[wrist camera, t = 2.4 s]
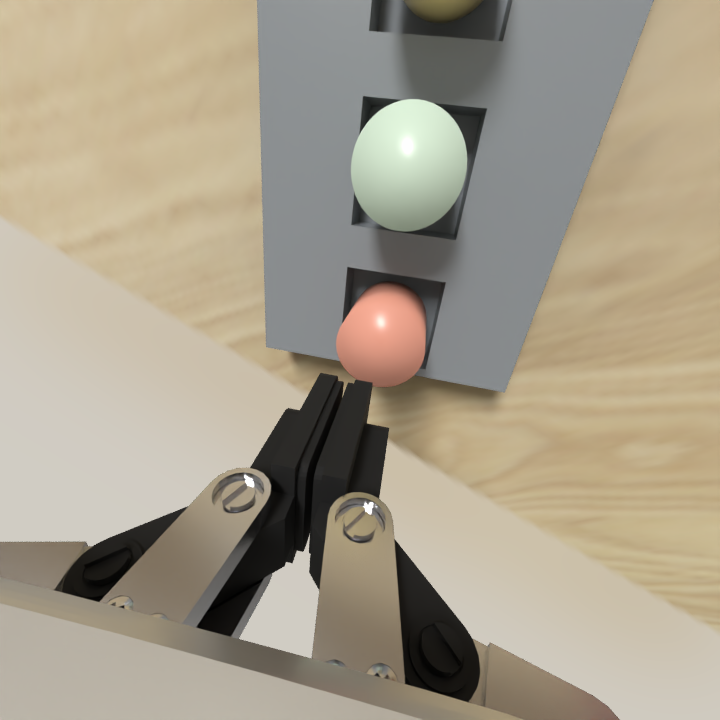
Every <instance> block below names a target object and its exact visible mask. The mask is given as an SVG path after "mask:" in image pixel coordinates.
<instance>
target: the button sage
mask: <svg viewBox="0 0 720 720" xmlns="http://www.w3.org/2000/svg"><path fill="white" fill-rule="evenodd" d="M466 171H467V150H466V145H465V141H464V138H463V135H462V133H461V131H460V129H459V127H458V125H457V123H456V122H455V121H454V119H453V118H452V117H451V116H450V115H449V114H448V113H447V112H446V111H445V110H444V109H442V108H441V107H439V106H437V105H436V104H434V103H431V102H428V101H425V100H419V99H407V100H401V101H398V102H395V103H392V104H390V105H388V106H386V107H384V108H383V109H381V110H380V111H379V112H377V113H376V114H375V115H374V116H373V117H372V118H371V119H370V120H369V121H368V123H367V124H366V125H365V127H364V128H363V130H362V131H361V133H360V135H359V137H358V139H357V142H356V144H355V147H354V151H353V155H352V161H351V179H352V185H353V189H354V192H355V195H356V198H357V200H358V202H359V204H360V205H361V207H362V209H363V210H364V211H365V212H366V214H367V215H368V216H369V217H370V218H371V219H372V220H374V221H375V222H376V223H378V224H380V225H381V226H383V227H385V228H388V229H391V230H395V231H415V230H419V229H422V228H425V227H427V226H429V225H431V224H433V223H435V222H436V221H438V220H439V219H440V218H441V217H443V216H444V215H445V214H446V213H447V212H448V211H449V209H450V208H451V207H452V206H453V204H454V203H455V201H456V200H457V198H458V196H459V194H460V192H461V189H462V187H463V184H464V180H465V176H466Z"/></svg>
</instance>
